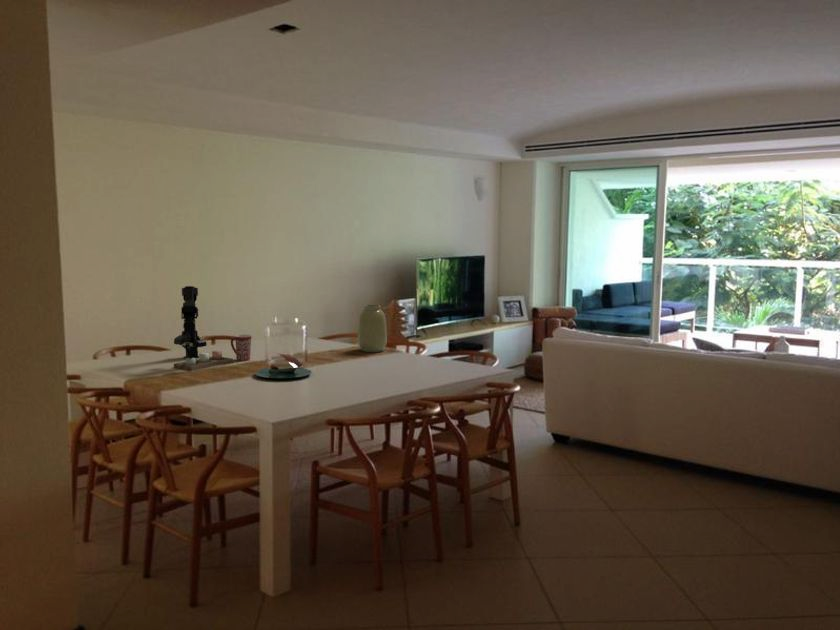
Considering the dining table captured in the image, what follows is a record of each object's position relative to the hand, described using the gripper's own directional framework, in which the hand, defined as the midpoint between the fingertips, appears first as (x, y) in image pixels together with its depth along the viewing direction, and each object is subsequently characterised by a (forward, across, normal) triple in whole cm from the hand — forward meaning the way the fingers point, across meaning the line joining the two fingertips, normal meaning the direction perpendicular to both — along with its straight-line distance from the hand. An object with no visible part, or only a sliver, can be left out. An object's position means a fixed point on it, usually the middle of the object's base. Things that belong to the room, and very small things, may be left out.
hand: (190, 358), depth 381 cm
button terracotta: (+3, 0, +18) cm, 18 cm away
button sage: (+4, 0, 0) cm, 4 cm away
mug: (+5, +4, +32) cm, 32 cm away
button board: (+5, 0, +9) cm, 10 cm away
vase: (+5, +44, +100) cm, 109 cm away
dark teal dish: (+5, +52, +14) cm, 54 cm away
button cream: (+3, 0, +9) cm, 9 cm away
